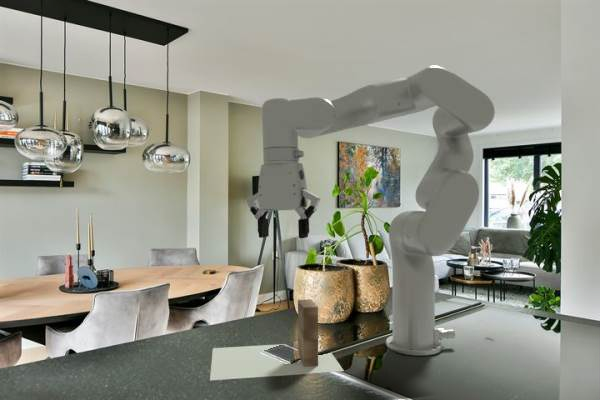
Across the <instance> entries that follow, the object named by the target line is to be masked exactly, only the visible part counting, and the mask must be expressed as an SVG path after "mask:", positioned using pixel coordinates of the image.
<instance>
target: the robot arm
mask: <svg viewBox="0 0 600 400" xmlns="http://www.w3.org/2000/svg"><path fill="white" fill-rule="evenodd" d="M434 107H437V108H436V110H435V111H434V113H433V116H432V127H433V130H434V133H435V135H436V139H437V145H438V147H437V152H436V153H435V155H434V158H433V160H432V162H431V163H430V165H429V167H428V168H427V170H426V172H425V174H424V175H423V177H422V178H421V180H420V182H419V184H418V186H417V187H416V190H415V196H414V198H415V201H416V203H417V205H418V206H419V207H420V208H421V209H423V210H425V211H423V210H407V211H402V212H401V213H399V214H397V215H396V216H395V217H394V218H393V219H392V220H391V222H390V225H389V228H388V229H389V230H388V239H389V240H388V241H389V246H390V253H391V261H392V264H391V265H392V267H391V268H392V335H389V336H388V337H387V338H386V340H385V345H386V347H387V348H388V349H390V350H392V351H393V352H396V353H398V354H403V355H407V356H419V357H420V356H421V357H422V356H432V355H436V354H438V353H440V352H441V351H442V350H443V343H442V342H441V341H443V339H447V340H449V339H455V337H456V333H455V330H454V329H444V327H443V328H442V327H441V328H438V327H436V326H435V325H436V323H435V321H436V319H435V318H436V307H435V306H436V303H435V302H436V298H435V297H436V294H435V292H436V290H435V288H436V285H435V282H436V277H435V275H436V274H435V264H434V259H433V257H439V256H443V255H445V254H447V253H448V252H450V251H451V249H452V248H453V247H454V246H455V244H456V243H457V241H458V239H459V238H460V236H461V235H462V232H463V231H464V229H465V228H466V225H467V224H468V222H469V220H470V218H471V216H472V214H473V213H474V211H475V209H476V207H477V205H478V202H479V196H480V187H479V184H478V181H477V179H476V178H475V177H474V176H473V174H471V173H469V171H470V169H471V167H472V165H473V162H474V149H473V145H472V143H471V139H470V136H469V134H472V133H476V132H480V131H482V130H484V129H486V128H487V127H489V125H491V123H492V122H493V120H494V118H495V106H494V103H493V101H492V99H490V97H489V96H488V95H487V94H486V93H485V92H483V91H482V90H480V89H479V88H477V87H476V86H474V85H473V84H471V83H470V82H468V81H467V80H466V79H464V78H462V77H460V76H459V75H457V74H455V73H454V72H452V71H450V70H448V69H446V68H444V67H441V66H438V65H431V66H427V67H425V68H423V69H421V70H419V71H418V72H417V73H414V74H411V75H409V76H404V77H399V78H396V79H393V80H392V79H391V80H387V81H382V82H377V83H373V84H367V85H365V86H362V87H361V88H357V89H356V90H354V91H352V92H350V93H348V94H346V95H344V96H341V97H339V98H335V99H333V100H328V99H326V98H323V97H318V96H317V97H306V98H297V99H289V98H284V97H283V98H277V97H276V98H272V99H271V98H269V99H267V100H266V101H264V102H263V104H262V108H261V117H262V119H261V120H262V122H261V123H262V124H261V125H262V153H263V154H262V155H263V157H262V158H263V164H261V165H260V171H259V177H258V188H257V189H258V191H257V192H256V193H255V194H253V195H252V196H250V197H249V198H248V199H246V203H247V205H248V208H250V209H249V211H250V212H251V214H252V215H253V216H254V218H255V219H256V220H257V233H258V237H259V239H260V238H261V239H262V238H268V237H269V235H270V233H269V230H270V229H269V228H270V227H269V218H267V216H268V215H269V214H270V213H271V211H295V212H296V214H297V215H298V216H299V219H298V221H297V222H298V223H297V224H298V225H297V226H298V227H297V228H298V238H299V239H306V238H308V237H309V233H310V218H311V217H312V216H313V214H314V213H315V212H316V211H317V208H318V206H319V203H320V201H321V198H320V197H319V196H318V195H316V194H314V193H312V192H310V191H308V188H307V186H308V185H307V180H306V175H305V170H304V169H305V168H304V166H303V163H300V162H299V161H300V158H303V157H304V156H305V153H304V151H303V150H300V149H299V139H298V138H299V137H300V138H303V139H313V138H317V137H323V136H325V135H330V134H333V133H338V132H341V131H345V130H349V129H354V128H359V127H364V126H368V125H371V124H375V123H379V122H383V121H388V120H391V119H395V118H399V117H404V116H407V115H413V114H417V113H419V112H424V111H426V110H428V109H431V108H434ZM308 201H310V204H309V203H308ZM257 203H258V206H259V207H258V206H257ZM308 204H309V206H308Z"/></svg>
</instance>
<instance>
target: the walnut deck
mask: <svg viewBox="0 0 600 400" xmlns="http://www.w3.org/2000/svg"><path fill="white" fill-rule="evenodd" d="M318 342H319V307H318V305H317V303H315V302H314V301H313V300H312V299H310V298H309V299H298V300H297V343H298V353H299V356H300V359H301V362H302V364H303V366H304V367H309V366H318Z"/></svg>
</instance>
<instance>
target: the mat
mask: <svg viewBox="0 0 600 400" xmlns="http://www.w3.org/2000/svg"><path fill="white" fill-rule="evenodd" d="M284 344H285V343H283V344H282V343H281V344H279V343H278V344H264V345H248V346H247V345H245V346H232V347H231V346H229V347H227V346H226V347H213V348H212V352H211V353H212V355H211V364H210V376H209V377H210V378H209V381H210V382H211V381H224V380H225V381H226V380H236V379H237V380H238V379H239V380H241V379H250V378H251V379H253V378H265V377H266V378H267V377H269V378H270V377H280V376H281V377H283V376H295V375H311V374H323V373H324V374H325V373H339V372H344V371H345V370H344V369H343V368H342V366H341V365H340V363H339V361H338V360H337V358H336V357H335V356H334V354H333V353H332V352H331V353H328V354H323V355H318V366H309V367H304V366H303V364H302V362H299V363H295V364H285V363H283V362H280V361H279V360H276V359H274V358H271V357H269V356H266V355H263V354H261V353H260V352H261V351H264V350H268V349H270V348H273V347H276V346H279V345H284Z"/></svg>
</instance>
